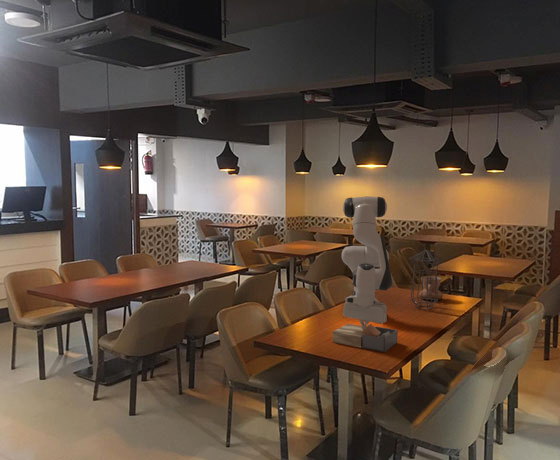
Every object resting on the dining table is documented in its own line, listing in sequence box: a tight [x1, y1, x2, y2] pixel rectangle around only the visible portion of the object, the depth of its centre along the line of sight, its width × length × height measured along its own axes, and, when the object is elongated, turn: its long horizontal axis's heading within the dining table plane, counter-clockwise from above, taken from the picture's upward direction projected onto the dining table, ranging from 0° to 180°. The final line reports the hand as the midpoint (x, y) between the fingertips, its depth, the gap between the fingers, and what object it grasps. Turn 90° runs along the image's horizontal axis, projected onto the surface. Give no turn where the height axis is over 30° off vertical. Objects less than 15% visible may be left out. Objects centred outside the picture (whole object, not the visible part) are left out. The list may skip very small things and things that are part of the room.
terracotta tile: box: [362, 323, 381, 337], centre depth 222 cm, size 6×6×3 cm
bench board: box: [332, 323, 365, 349], centre depth 227 cm, size 16×14×5 cm
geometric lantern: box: [409, 249, 443, 311], centre depth 292 cm, size 16×16×35 cm
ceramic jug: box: [418, 275, 443, 302], centre depth 315 cm, size 18×14×14 cm
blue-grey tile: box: [379, 331, 390, 338], centre depth 220 cm, size 6×6×3 cm
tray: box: [361, 326, 399, 353], centre depth 220 cm, size 16×11×6 cm
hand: (364, 329), depth 224 cm, fingers closed, pressing on terracotta tile
